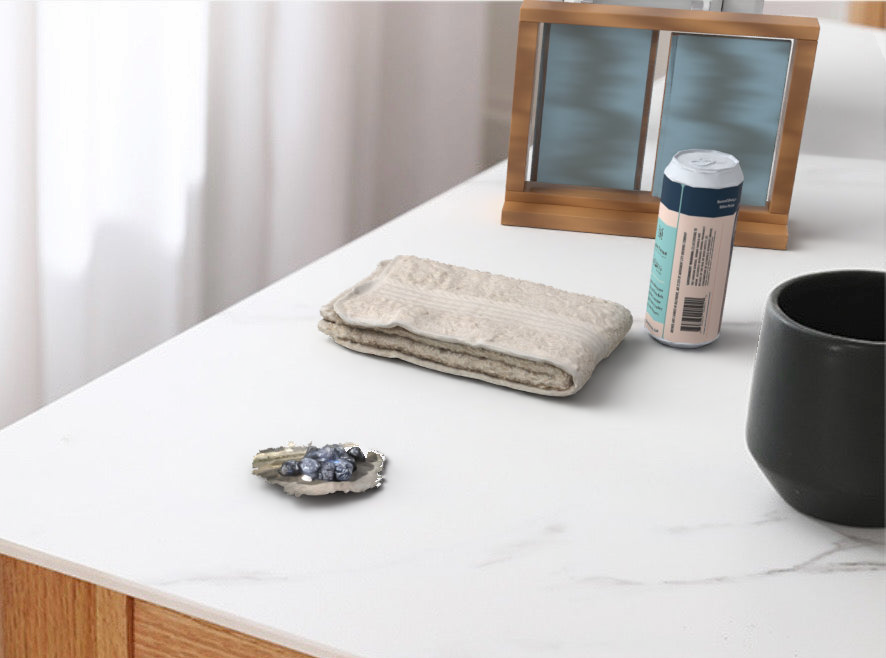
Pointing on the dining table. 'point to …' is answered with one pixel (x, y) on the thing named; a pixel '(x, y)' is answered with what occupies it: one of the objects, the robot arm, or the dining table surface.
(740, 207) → the window frame
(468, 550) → the dining table surface
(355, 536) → the dining table surface
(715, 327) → the beer can
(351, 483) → the blueberries
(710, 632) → the dining table surface
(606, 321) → the washcloth
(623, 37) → the window sash
